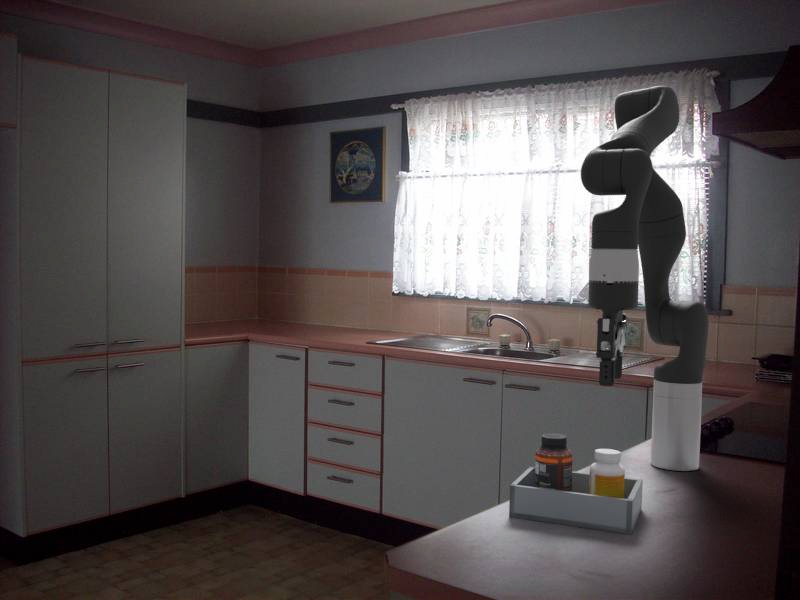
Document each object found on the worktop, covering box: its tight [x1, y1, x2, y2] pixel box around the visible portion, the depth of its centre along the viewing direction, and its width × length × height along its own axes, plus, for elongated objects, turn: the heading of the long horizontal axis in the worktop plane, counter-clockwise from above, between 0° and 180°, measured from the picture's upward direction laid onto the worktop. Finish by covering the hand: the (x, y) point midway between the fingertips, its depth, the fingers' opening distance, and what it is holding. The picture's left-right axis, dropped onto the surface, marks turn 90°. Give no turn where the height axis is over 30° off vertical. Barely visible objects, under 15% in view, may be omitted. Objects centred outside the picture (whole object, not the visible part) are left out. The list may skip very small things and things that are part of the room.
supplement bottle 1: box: [534, 432, 573, 492], centre depth 133 cm, size 6×6×11 cm
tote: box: [508, 466, 644, 535], centre depth 131 cm, size 14×19×5 cm
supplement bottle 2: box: [589, 448, 626, 498], centre depth 130 cm, size 5×5×10 cm
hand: (610, 381), depth 129 cm, fingers open, 8 cm apart
